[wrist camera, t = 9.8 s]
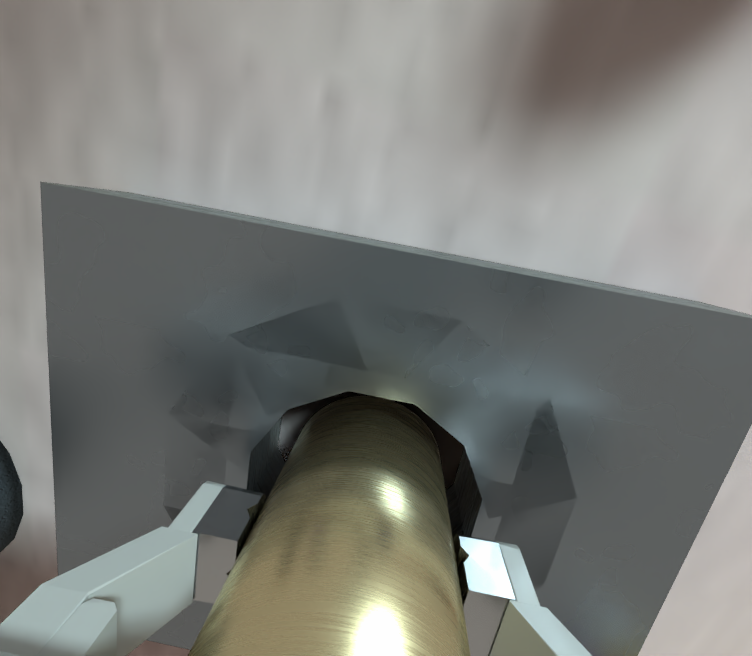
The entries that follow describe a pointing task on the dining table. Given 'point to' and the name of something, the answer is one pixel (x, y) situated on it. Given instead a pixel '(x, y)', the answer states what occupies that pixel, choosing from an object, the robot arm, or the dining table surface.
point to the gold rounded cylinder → (347, 547)
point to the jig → (385, 390)
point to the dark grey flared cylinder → (9, 499)
